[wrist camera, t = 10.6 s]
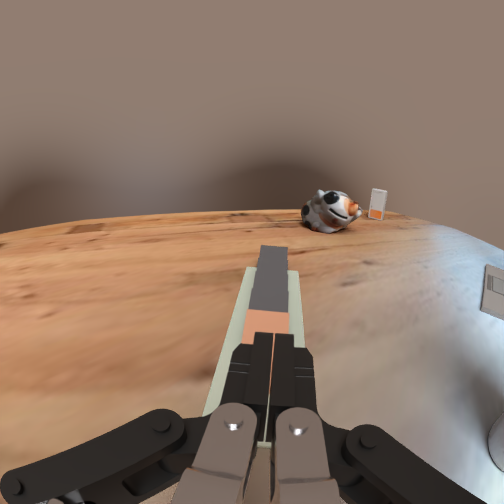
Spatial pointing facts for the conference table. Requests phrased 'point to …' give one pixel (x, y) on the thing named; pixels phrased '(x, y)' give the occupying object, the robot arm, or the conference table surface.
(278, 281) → the domino
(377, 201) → the skincare box
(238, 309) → the strip
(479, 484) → the conference table surface
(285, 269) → the domino
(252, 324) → the domino
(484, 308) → the laptop
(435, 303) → the conference table surface
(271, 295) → the domino
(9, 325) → the conference table surface
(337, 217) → the lucky cat figurine
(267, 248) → the domino
